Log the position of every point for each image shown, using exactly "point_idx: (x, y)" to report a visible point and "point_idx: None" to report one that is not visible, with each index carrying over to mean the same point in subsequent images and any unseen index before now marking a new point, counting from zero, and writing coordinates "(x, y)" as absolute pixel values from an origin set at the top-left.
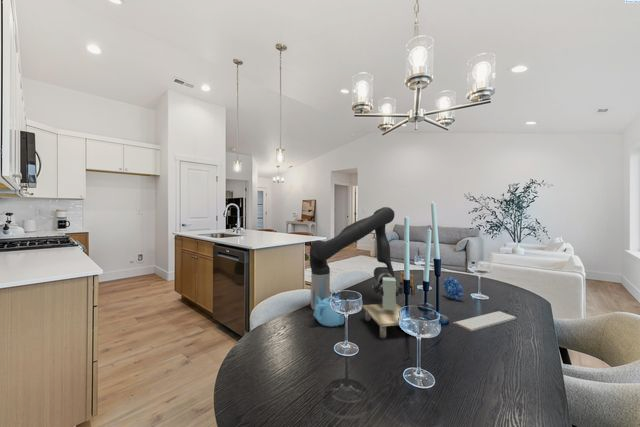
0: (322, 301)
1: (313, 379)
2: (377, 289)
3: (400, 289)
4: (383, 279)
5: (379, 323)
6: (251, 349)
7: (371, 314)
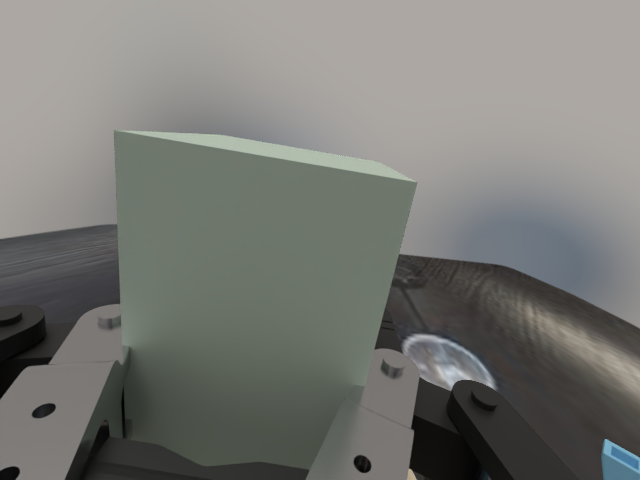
0: None
1: (456, 291)
2: (442, 402)
3: (43, 326)
4: (379, 164)
5: None
6: None
7: (409, 471)
